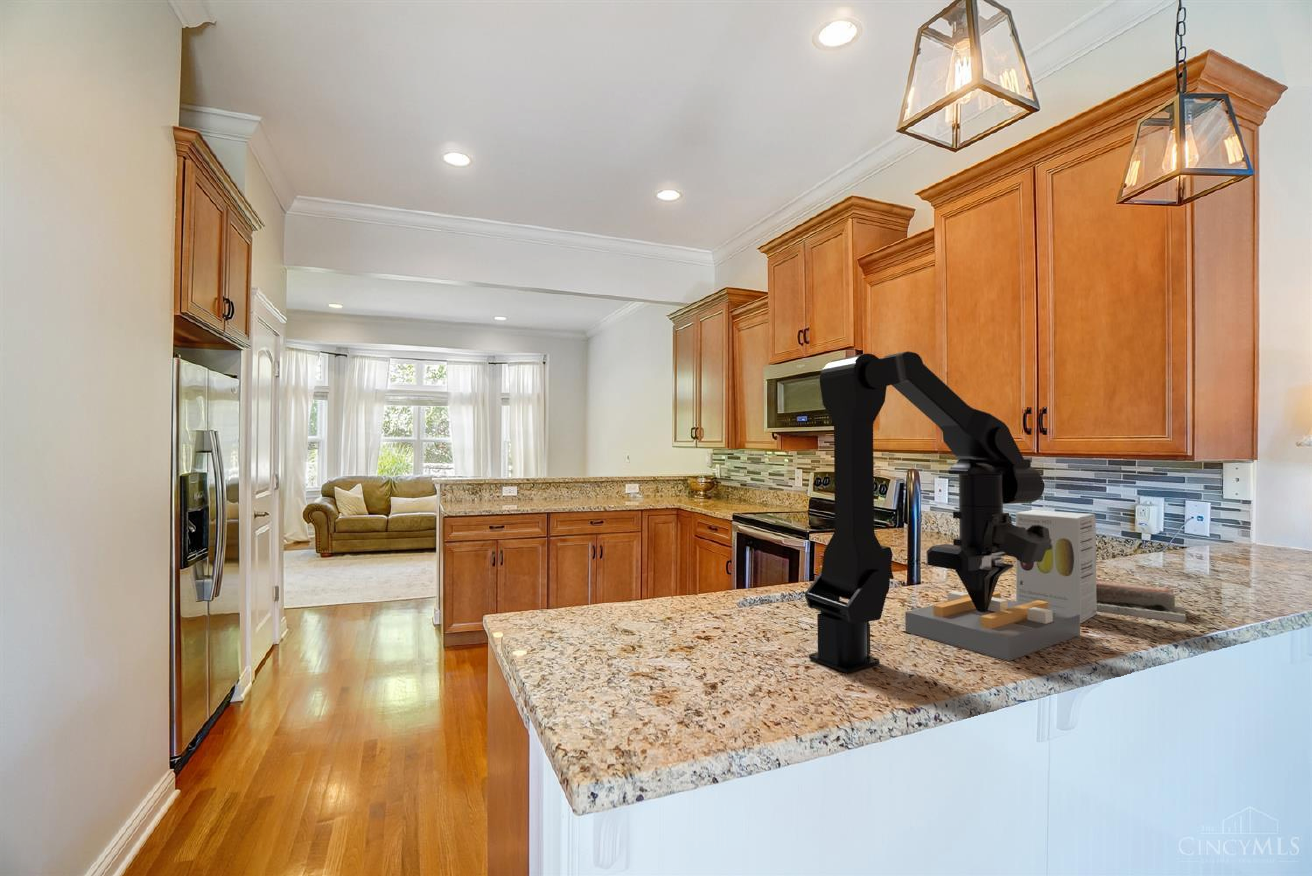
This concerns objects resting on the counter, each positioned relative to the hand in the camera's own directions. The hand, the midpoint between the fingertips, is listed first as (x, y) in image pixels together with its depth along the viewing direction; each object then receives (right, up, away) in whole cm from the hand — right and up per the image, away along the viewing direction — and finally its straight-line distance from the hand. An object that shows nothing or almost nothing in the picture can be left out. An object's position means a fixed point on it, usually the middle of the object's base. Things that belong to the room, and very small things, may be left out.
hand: (982, 611), depth 87 cm
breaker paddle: (+3, 0, +2) cm, 4 cm away
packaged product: (+32, -5, +15) cm, 36 cm away
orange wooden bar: (0, -1, +4) cm, 4 cm away
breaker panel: (+2, -4, +1) cm, 4 cm away
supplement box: (+19, -4, +12) cm, 23 cm away
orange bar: (+4, -1, -2) cm, 4 cm away
